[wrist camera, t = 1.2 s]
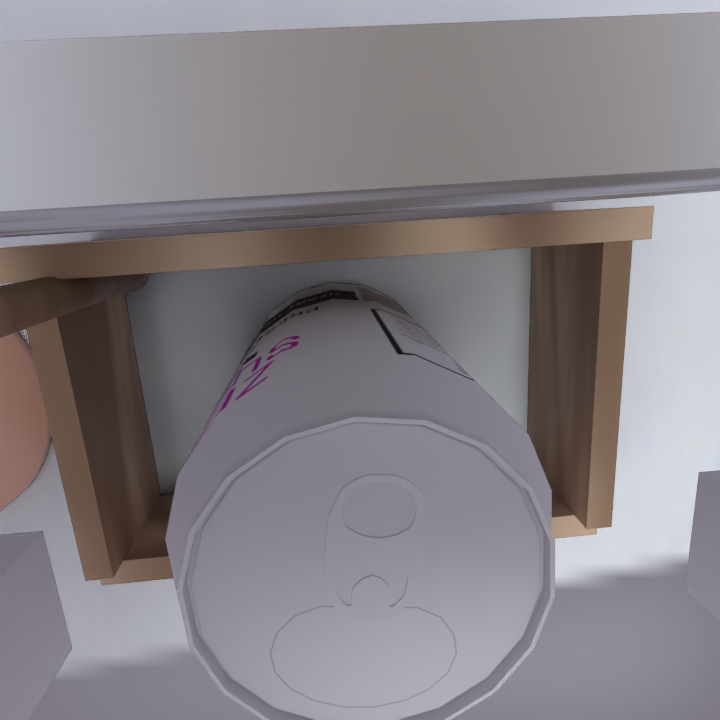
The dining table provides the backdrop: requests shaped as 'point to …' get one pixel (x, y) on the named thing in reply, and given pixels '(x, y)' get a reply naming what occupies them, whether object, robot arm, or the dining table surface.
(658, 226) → the dining table surface
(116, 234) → the dining table surface
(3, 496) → the saucer
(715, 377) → the dining table surface
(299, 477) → the supplement can
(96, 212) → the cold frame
